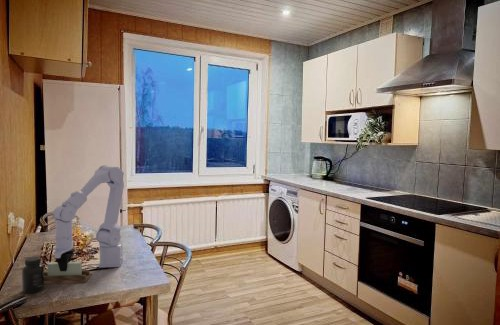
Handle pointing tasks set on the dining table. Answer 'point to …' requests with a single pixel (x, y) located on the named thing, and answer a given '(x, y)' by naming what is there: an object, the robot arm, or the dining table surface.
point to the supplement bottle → (32, 276)
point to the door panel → (72, 269)
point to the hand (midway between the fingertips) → (64, 269)
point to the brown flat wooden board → (67, 278)
